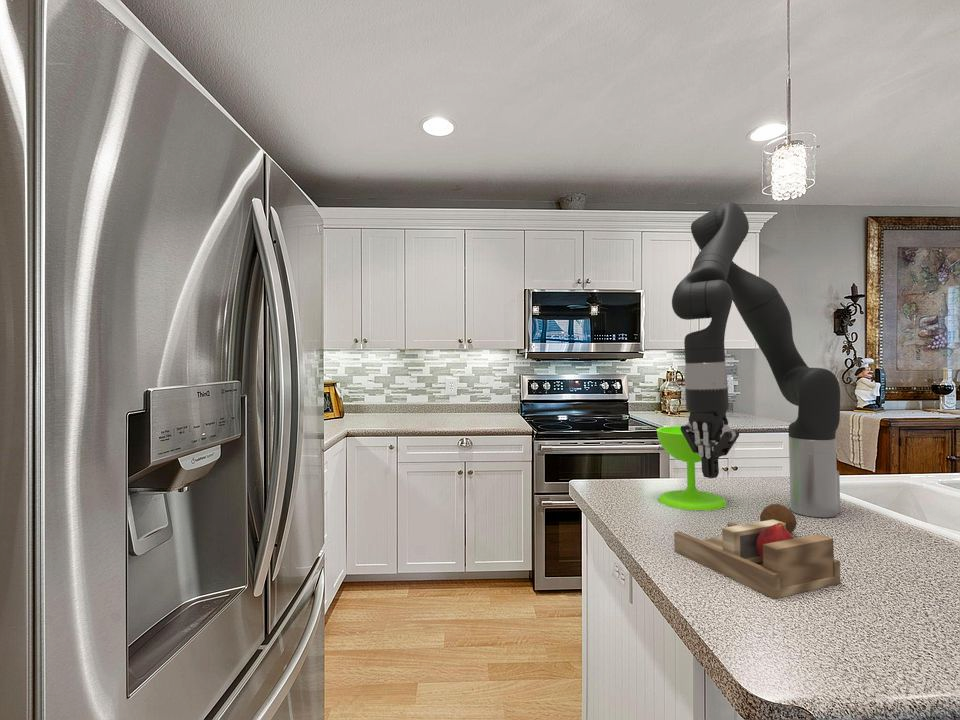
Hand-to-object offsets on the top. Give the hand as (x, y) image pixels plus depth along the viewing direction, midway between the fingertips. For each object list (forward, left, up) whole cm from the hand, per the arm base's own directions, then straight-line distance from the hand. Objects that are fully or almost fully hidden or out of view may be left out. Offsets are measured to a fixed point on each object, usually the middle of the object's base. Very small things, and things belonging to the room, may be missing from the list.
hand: (710, 477), depth 102 cm
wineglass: (-20, -28, -14) cm, 37 cm away
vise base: (0, +9, -14) cm, 16 cm away
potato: (-18, -1, -14) cm, 23 cm away
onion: (0, +14, -12) cm, 18 cm away
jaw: (0, +10, -12) cm, 16 cm away
